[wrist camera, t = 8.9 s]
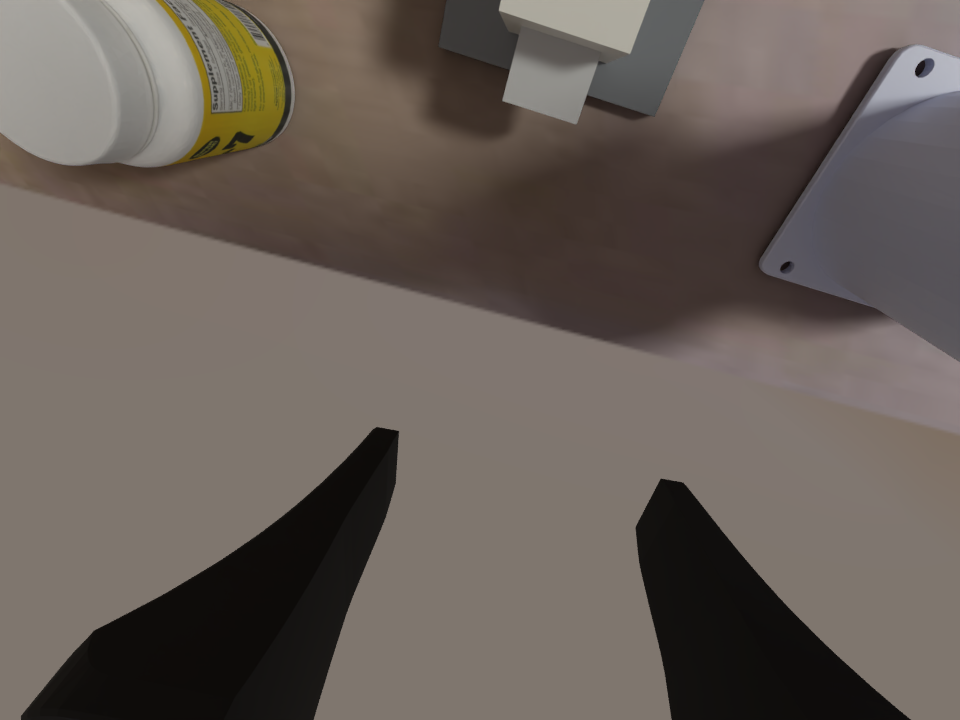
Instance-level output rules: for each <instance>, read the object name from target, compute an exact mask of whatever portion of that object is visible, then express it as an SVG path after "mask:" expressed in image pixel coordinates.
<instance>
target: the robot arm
mask: <svg viewBox="0 0 960 720" xmlns="http://www.w3.org/2000/svg"><path fill="white" fill-rule="evenodd" d="M922 60H924V61H925V68H924V70H923V72H922V73H921V74H920V75H919V76H916V75H915V69H916V67H917V65H918V64H919V63H920V62H921V61H922ZM788 261H790V264H789V266H788V267H787V268H786V269H785V270H780V268H781V265H783V264H784V263H785V262H788ZM759 268H760V269H761V271H763V272H764V273H766V274H767V275H770V276H773V277H776V278H780V279H783V280H786V281H789V282H793V283H796V284H799V285H802V286H805V287H809V288H812V289H815V290H818V291H822V292H825V293H828V294H831V295H835V296H838V297H841V298H844V299H847V300H851V301H854V302H857V303H860V304H864V305H867V306H870V307H873V308H876V309H878V310H879V311H881V312H882V313H884V314H886V315H887V316H889V317H890V318H892V319H893V320H895V321H896V322H898V323H900V324H901V325H903V326H904V327H906V328H907V329H909V330H910V331H912V332H914V333H915V334H917V335H918V336H920V337H921V338H923V339H925V340H926V341H928V342H929V343H931V344H932V345H934V346H935V347H937V348H939V349H940V350H942V351H943V352H945V353H946V354H948V355H949V356H951V357H953V358H954V359H956V360H957V361H959V362H960V58H959V57H956V56H953V55H950V54H947V53H944V52H941V51H938V50H935V49H933V48H930V47H927V46H924V45H917V44H914V45H908V46H905V47H902V48H900V49H899V50H897V51H896V52H894V54H893V55H892V56H891V57H890V58H889V60H888V61H887V63H886V64H885V66H884V67H883V69H882V70H881V72H880V74H879V75H878V77H877V78H876V80H875V81H874V83H873V84H872V86H871V88H870V89H869V91H868V92H867V94H866V95H865V97H864V98H863V100H862V101H861V103H860V105H859V106H858V108H857V109H856V111H855V112H854V114H853V115H852V117H851V119H850V120H849V122H848V123H847V125H846V126H845V128H844V129H843V131H842V133H841V134H840V136H839V137H838V139H837V140H836V142H835V143H834V145H833V146H832V148H831V150H830V151H829V153H828V154H827V156H826V157H825V159H824V160H823V162H822V164H821V165H820V167H819V168H818V170H817V171H816V173H815V174H814V176H813V178H812V179H811V181H810V182H809V184H808V185H807V187H806V188H805V190H804V192H803V193H802V195H801V196H800V198H799V199H798V201H797V202H796V204H795V205H794V207H793V209H792V210H791V212H790V213H789V215H788V216H787V218H786V219H785V221H784V223H783V224H782V226H781V227H780V229H779V230H778V232H777V233H776V235H775V237H774V238H773V240H772V241H771V243H770V244H769V246H768V247H767V249H766V250H765V252H764V254H763V255H762V257H761V258H760V261H759ZM398 437H399V431H396V430H390V429H385V428H379V427H376V428H375V429H373V430H372V431H371V432H370V433H369V435H368V436H367V437H366V438H365V439H364V440H363V442H362V443H361V444H360V445H359V446H358V447H357V448H356V449H355V450H354V451H353V453H351V454H350V456H349V457H347V459H346V460H345V461H344V462H343V463H342V464H341V465H340V466H339V467H338V468H336V469H335V470H334V471H333V472H332V473H331V474H330V475H329V476H328V477H327V478H326V479H325V480H324V481H323V482H322V483H321V484H320V485H319V486H318V487H316V488H315V489H314V490H313V491H312V492H311V493H310V494H308V495H307V496H306V497H305V498H304V499H303V500H302V501H300V502H299V503H298V504H297V505H296V506H295V507H293V508H292V509H291V510H290V511H289V512H287V513H286V514H285V515H284V516H282V517H281V518H280V519H279V520H277V521H276V522H275V523H273V524H272V525H270V526H269V527H268V528H266V529H265V530H264V531H263V532H261V533H260V534H259V535H257V536H256V537H254V538H253V539H251V540H250V541H249V542H247V543H245V544H244V545H243V546H241V547H240V548H238V549H237V550H235V551H234V552H232V553H231V554H229V555H228V556H226V557H225V558H223V559H222V560H220V561H219V562H217V563H216V564H214V565H212V566H211V567H209V568H207V569H206V570H204V571H202V572H201V573H199V574H197V575H196V576H194V577H192V578H191V579H189V580H188V581H186V582H184V583H182V584H181V585H179V586H177V587H176V588H174V589H172V590H171V591H169V592H167V593H165V594H163V595H162V596H160V597H158V598H156V599H154V600H152V601H150V602H149V603H147V604H145V605H143V606H141V607H139V608H137V609H136V610H133V611H132V612H129V613H128V614H126V615H124V616H122V617H120V618H118V619H116V620H114V621H112V622H110V623H109V624H107V625H104V626H103V627H100V628H98V629H96V630H95V631H93V633H92V634H91V635H90V636H89V637H88V638H87V639H86V640H85V641H84V642H83V643H82V644H81V646H80V647H79V648H77V649H76V650H75V652H74V653H73V654H72V655H71V656H70V657H69V658H68V659H67V661H66V662H65V663H64V664H63V665H62V667H61V668H60V669H59V670H58V672H57V673H56V674H55V675H54V676H53V678H52V679H51V680H50V681H49V682H48V684H47V685H46V686H45V687H44V689H43V690H42V691H41V692H40V693H39V695H38V696H37V697H36V698H35V700H34V701H33V702H32V703H31V704H30V706H29V707H28V708H27V709H26V711H25V712H24V713H23V714H22V715H21V720H314V716H315V712H316V709H317V706H318V703H319V699H320V696H321V693H322V689H323V686H324V683H325V680H326V676H327V673H328V670H329V667H330V663H331V660H332V657H333V654H334V651H335V648H336V644H337V641H338V638H339V635H340V631H341V629H342V625H343V622H344V619H345V616H346V613H347V611H348V608H349V605H350V603H351V600H352V597H353V595H354V592H355V590H356V587H357V585H358V583H359V580H360V578H361V575H362V573H363V571H364V568H365V566H366V563H367V561H368V559H369V556H370V554H371V551H372V549H373V547H374V544H375V542H376V540H377V537H378V535H379V532H380V530H381V527H382V525H383V523H384V520H385V518H386V514H387V511H388V508H389V504H390V501H391V497H392V494H393V491H394V487H395V484H396V469H397V453H398ZM636 536H637V547H638V555H639V563H640V568H641V573H642V577H643V581H644V586H645V590H646V594H647V598H648V603H649V607H650V611H651V615H652V619H653V623H654V627H655V631H656V635H657V639H658V643H659V648H660V651H661V656H662V661H663V666H664V671H665V677H666V683H667V691H668V698H669V704H670V711H671V718H672V720H910V719H909V718H908V717H907V716H906V715H904V714H903V713H902V712H901V711H899V710H898V709H897V708H896V707H895V706H893V705H892V704H891V703H890V702H889V701H888V700H886V699H885V698H884V697H883V696H882V695H881V694H879V693H878V692H877V691H876V690H875V689H874V688H872V687H871V686H870V685H869V684H868V683H867V682H866V681H865V680H863V679H862V678H861V677H860V676H859V675H858V674H857V673H856V672H855V671H854V670H852V669H851V668H850V667H849V666H848V665H847V664H846V663H845V662H844V661H842V660H841V659H840V658H839V657H838V656H837V655H836V654H835V653H834V652H833V651H832V650H831V649H829V647H827V646H826V645H825V644H824V643H823V642H822V641H821V640H820V639H819V638H818V637H817V636H816V635H815V634H814V633H813V632H812V631H811V630H810V629H809V628H808V627H807V626H806V625H805V624H804V623H803V622H802V621H801V620H800V619H799V618H798V617H797V616H796V615H795V614H794V613H793V612H792V611H791V610H790V609H789V608H788V607H787V606H786V604H784V602H783V601H782V600H781V599H780V598H779V597H778V596H777V595H776V594H775V593H774V591H773V590H772V589H771V588H770V587H769V586H768V585H767V584H766V583H765V582H764V580H763V579H762V578H761V577H760V576H759V575H758V574H757V572H756V571H755V570H754V569H753V568H752V567H751V565H750V564H749V563H748V562H747V561H746V560H745V558H744V557H743V556H742V555H741V554H740V553H739V551H738V550H737V549H736V548H735V546H734V545H733V544H732V543H731V541H730V540H729V539H728V538H727V537H726V535H725V534H724V533H723V532H722V531H721V529H720V528H719V527H718V525H717V524H716V523H715V522H714V520H713V519H712V518H711V516H710V515H709V514H708V513H707V512H706V510H705V509H704V508H703V507H702V505H701V504H700V503H699V501H698V500H697V499H696V498H695V496H694V495H693V494H692V493H691V491H690V490H689V489H688V488H687V486H686V485H685V484H684V483H682V482H677V481H671V480H665V479H660V481H659V483H658V485H657V487H656V489H655V491H654V493H653V495H652V497H651V499H650V500H649V503H648V504H647V506H646V508H645V510H644V512H643V514H642V516H641V518H640V520H639V522H638V524H637V526H636Z"/></svg>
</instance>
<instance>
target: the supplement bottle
mask: <svg viewBox="0 0 960 720" xmlns="http://www.w3.org/2000/svg"><path fill="white" fill-rule="evenodd" d="M294 102H295V88H294V81H293V76H292V72H291V69H290V65H289V63H288V60H287V58H286V55H285V53H284V51H283V49H282V47H281V46H280V44H279V42H278V41H277V39H276V38H275V36H274V35H273V34H272V32H271V31H270V30H269V29H268V28H267V26H266V25H265V24H263V23H262V22H261V21H260V20H259V19H258V18H257V17H255V16H254V15H253V14H251V13H250V12H249V11H247V10H245V9H244V8H242V7H240V6H237V5H235V4H232V3H230V2H227V1H223V0H0V132H1V133H2V134H3V135H4V136H5V137H7V138H8V139H9V140H11V141H12V142H14V143H15V144H16V145H18V146H19V147H21V148H22V149H24V150H26V151H27V152H29V153H31V154H33V155H35V156H37V157H39V158H42V159H44V160H47V161H50V162H53V163H57V164H61V165H69V166H84V165H92V164H101V163H103V164H105V163H116V162H119V163H122V164H126V165H131V166H136V167H160V166H168V165H173V164H178V163H182V162H187V161H191V160H195V159H200V158H205V157H210V156H215V155H220V154H225V153H229V152H235V151H239V150H244V149H249V148H254V147H258V146H261V145H264V144H267V143H269V142H271V141H273V140H274V139H276V138H277V137H278V136H279V135H280V134H281V133H282V132H283V131H284V130H285V129H286V127H287V126H288V124H289V121H290V119H291V116H292V113H293V109H294Z"/></svg>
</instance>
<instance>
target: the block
mask: <svg viewBox="0 0 960 720" xmlns="http://www.w3.org/2000/svg"><path fill="white" fill-rule="evenodd" d="M649 2H650V0H501V2H500V7H499V12H500V15H501V17H502V19H503V21H504V23H505V25H506V27H507V29H508V31H509V32H512V33H515V34H518V35H519V38H518V41H517V45H516V49H515V53H514V57H513V61H512V65H511V69H510V73H509V77H508V80H507V84H506V88H505V92H504V96H503V100H502V101H504V102H507V103H510V104H514V105H517V106H520V107H523V108H526V109H529V110H532V111H535V112H539V113H542V114H545V115H548V116H551V117H554V118H557V119H560V120H564V121H567V122H570V123H573V124H576V125H577V122H578V119H579V116H580V113H581V110H582V107H583V105H584V102H585V99H586V96H587V93H588V90H589V87H590V84H591V81H592V79H593V76H594V73H595V70H596V67H597V64H598V61H601V62H604V63H609V62H611V61H614V60H616V59H619V58H621V57H624V56H626V55H629V54H630V53H631V50H632V48H633V45H634V42H635V40H636V37H637V34H638V32H639V29H640V26H641V24H642V21H643V18H644V16H645V13H646V10H647V8H648V5H649Z"/></svg>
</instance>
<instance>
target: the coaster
mask: <svg viewBox="0 0 960 720" xmlns="http://www.w3.org/2000/svg"><path fill="white" fill-rule="evenodd" d="M500 2H501V0H446V6H445V12H444V17H443V23H442V29H441V34H440V40H439V46H438V47H440V48H442V49H445V50H448V51H451V52H455V53H458V54H461V55H464V56H467V57H470V58H473V59H476V60H479V61H482V62H485V63H489V64H492V65H495V66H498V67H501V68H504V69H507V70H510V69H511V65H512V61H513V57H514V53H515V49H516V45H517V41H518V38H519V35H518V34H515V33H512V32H509V31H508V29H507V27H506V25H505V23H504V21H503V19H502V17H501V15H500V12H499V7H500ZM703 2H704V0H650V2H649V5H648V8H647V10H646V13H645V16H644V18H643V21H642V24H641V26H640V29H639V32H638V34H637V37H636V40H635V42H634V45H633V48H632V50H631V53H630V54H629V55H626V56H624V57H621V58H619V59H616V60H614V61H611V62H609V63H604V62H601V61H598V64H597V67H596V70H595V73H594V76H593V79H592V81H591V84H590V87H589V90H588V93H587V96H591V97H594V98H597V99H600V100H603V101H606V102H609V103H612V104H615V105H618V106H621V107H625V108H628V109H631V110H634V111H637V112H640V113H643V114H646V115H649V116H653V117H655V114H656V112H657V110H658V107H659V105H660V103H661V100H662V98H663V96H664V93H665V91H666V89H667V86H668V84H669V82H670V79H671V77H672V75H673V72H674V70H675V68H676V65H677V63H678V61H679V58H680V56H681V54H682V51H683V49H684V47H685V44H686V42H687V40H688V37H689V35H690V33H691V30H692V28H693V26H694V23H695V21H696V19H697V16H698V14H699V11H700V9H701V7H702V4H703Z"/></svg>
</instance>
